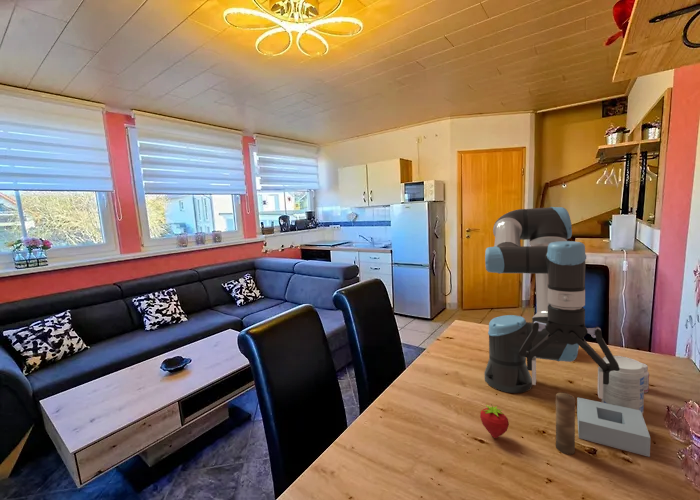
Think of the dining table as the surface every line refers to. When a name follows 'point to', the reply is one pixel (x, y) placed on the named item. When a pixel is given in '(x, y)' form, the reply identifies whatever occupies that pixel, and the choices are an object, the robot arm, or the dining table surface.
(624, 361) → the supplement tub
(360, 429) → the dining table surface
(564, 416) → the dowel
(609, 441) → the socket block
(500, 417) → the strawberry
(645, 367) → the pill bottle
